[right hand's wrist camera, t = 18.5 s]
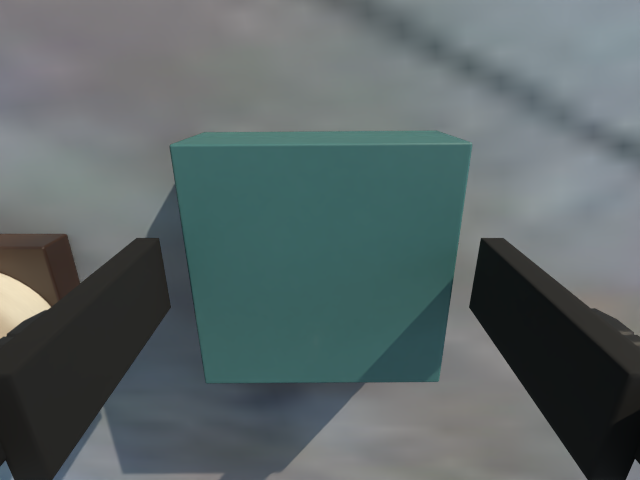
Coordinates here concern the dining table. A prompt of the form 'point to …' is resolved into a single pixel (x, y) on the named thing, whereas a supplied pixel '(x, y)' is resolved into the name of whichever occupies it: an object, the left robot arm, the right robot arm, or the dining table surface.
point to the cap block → (321, 252)
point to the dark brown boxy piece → (33, 275)
